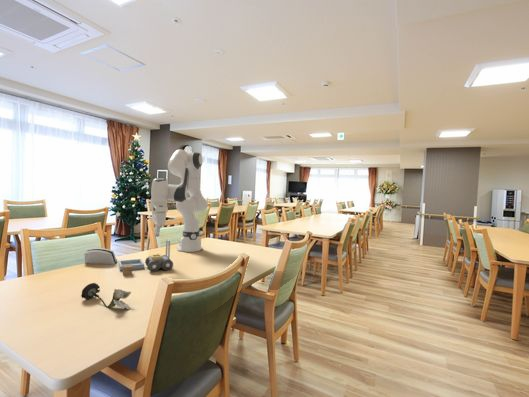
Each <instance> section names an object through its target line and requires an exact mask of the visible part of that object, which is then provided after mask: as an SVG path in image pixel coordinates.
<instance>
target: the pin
mask: <svg viewBox="0 0 529 397" xmlns="http://www.w3.org/2000/svg"><path fill="white" fill-rule="evenodd" d="M156 227H157V226H156V224H155V223H154V237H160V232H156Z"/></svg>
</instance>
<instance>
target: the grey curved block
mask: <svg viewBox="0 0 529 397" xmlns="http://www.w3.org/2000/svg"><path fill="white" fill-rule="evenodd" d="M83 255H84V263H85V264H98V265H99V264H101V265H102V264H105V265H114V264H115V263H117V262H118V259H117V258H116V254H115V253H114V250H111V249H108V248H102V247H97V248H96V247H95V248H90V249H87V250H86V252H85V253H84V254H83Z"/></svg>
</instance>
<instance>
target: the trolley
mask: <svg viewBox="0 0 529 397" xmlns="http://www.w3.org/2000/svg"><path fill="white" fill-rule="evenodd" d="M170 253H171V240H170V239H168V238H165V254H160V253H157V254H156V253H154V254H150V256H148V257H146V259H145V262H144V263H145V266H147V269H148V271H150V273H151V272H152V273H156V272H158V271H160V268H162V270H163V271H170V270H171V269H172V268H173V267H174V262H173V261H172V260H171V256H170V255H171V254H170Z"/></svg>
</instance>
